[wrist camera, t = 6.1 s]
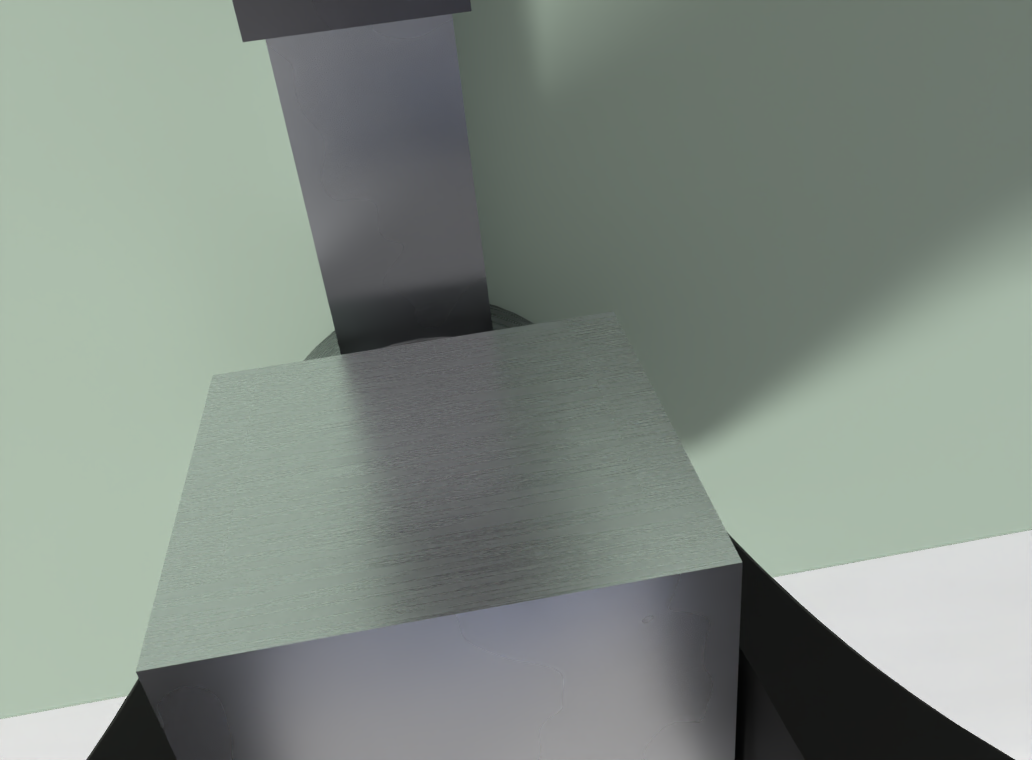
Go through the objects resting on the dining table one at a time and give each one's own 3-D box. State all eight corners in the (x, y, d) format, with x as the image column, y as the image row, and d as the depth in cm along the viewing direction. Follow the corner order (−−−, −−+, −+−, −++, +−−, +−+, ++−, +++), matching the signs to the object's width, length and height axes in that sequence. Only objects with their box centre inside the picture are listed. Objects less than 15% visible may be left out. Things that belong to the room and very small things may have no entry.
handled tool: (499, -885, 8) (606, -1358, 5) (594, 520, 17) (653, 702, 14) (-115, -845, 8) (-476, -1326, 4) (316, 569, 17) (307, 768, 14)
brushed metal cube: (613, 311, 13) (742, 562, 8) (627, 596, 15) (729, 891, 11) (212, 375, 12) (136, 672, 8) (303, 656, 15) (281, 983, 11)
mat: (1906, -1510, 8) (2011, -1596, 7) (1155, 485, 20) (1175, 503, 20) (-1640, -1429, 6) (-1817, -1535, 5) (-84, 710, 18) (-97, 736, 18)
